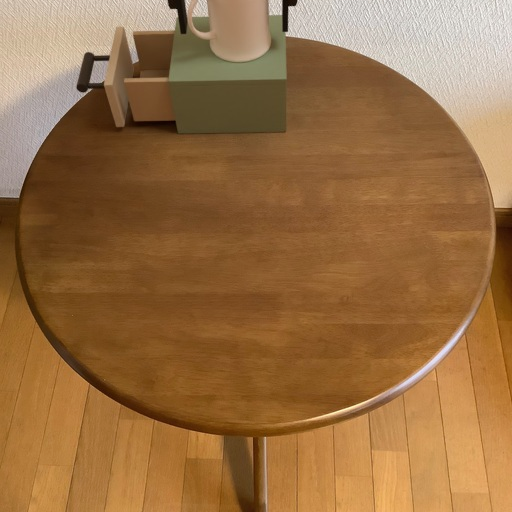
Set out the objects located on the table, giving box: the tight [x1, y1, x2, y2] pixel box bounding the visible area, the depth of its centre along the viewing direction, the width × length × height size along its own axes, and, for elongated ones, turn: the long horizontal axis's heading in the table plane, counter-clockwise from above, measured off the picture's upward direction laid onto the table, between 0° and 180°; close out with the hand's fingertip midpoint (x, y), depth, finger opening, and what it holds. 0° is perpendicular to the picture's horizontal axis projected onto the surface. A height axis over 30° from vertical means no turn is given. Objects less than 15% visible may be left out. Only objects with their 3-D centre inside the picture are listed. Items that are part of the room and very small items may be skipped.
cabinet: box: [168, 14, 288, 135], centre depth 92 cm, size 16×14×10 cm
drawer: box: [75, 26, 176, 128], centre depth 92 cm, size 20×13×8 cm, turn 89°
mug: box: [187, 0, 271, 62], centre depth 83 cm, size 12×8×12 cm
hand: (234, 27), depth 85 cm, fingers open, 13 cm apart
